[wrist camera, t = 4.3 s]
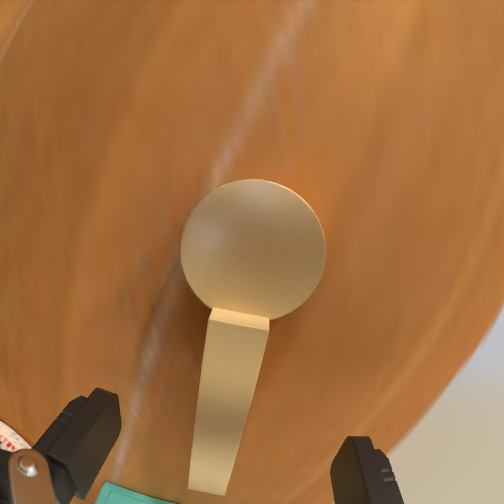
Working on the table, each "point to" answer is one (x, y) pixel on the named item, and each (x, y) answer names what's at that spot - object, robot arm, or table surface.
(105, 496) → the box
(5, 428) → the teacup with lid
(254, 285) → the spoon
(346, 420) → the table surface
